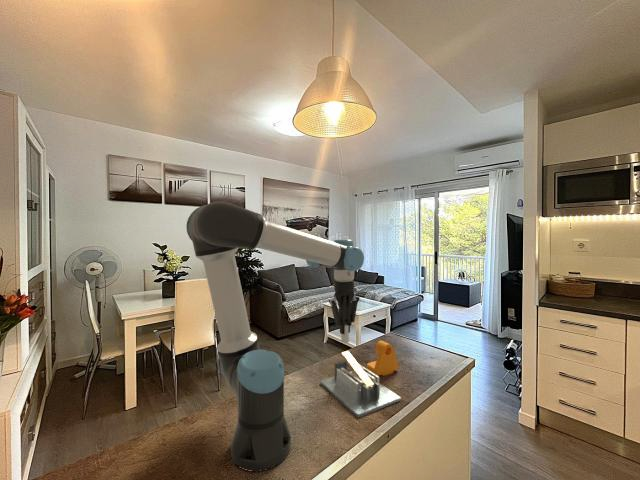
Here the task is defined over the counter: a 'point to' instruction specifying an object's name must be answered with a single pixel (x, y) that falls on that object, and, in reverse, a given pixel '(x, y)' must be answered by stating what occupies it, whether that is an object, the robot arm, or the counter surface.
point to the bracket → (383, 360)
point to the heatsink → (358, 391)
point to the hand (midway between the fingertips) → (345, 341)
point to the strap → (358, 370)
